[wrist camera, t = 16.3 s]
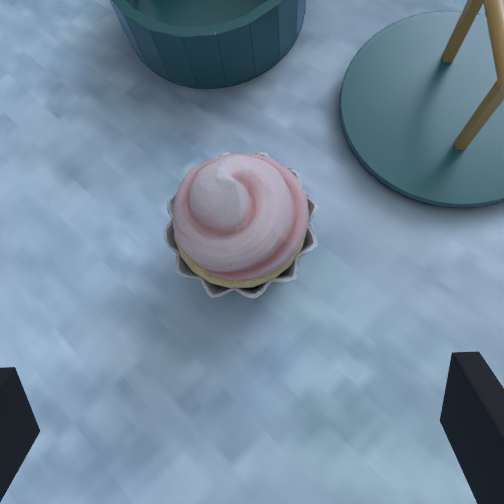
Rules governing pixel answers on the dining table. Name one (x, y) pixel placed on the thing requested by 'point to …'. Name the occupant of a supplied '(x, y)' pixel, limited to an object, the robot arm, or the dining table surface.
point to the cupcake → (240, 224)
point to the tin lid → (432, 106)
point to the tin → (210, 37)
